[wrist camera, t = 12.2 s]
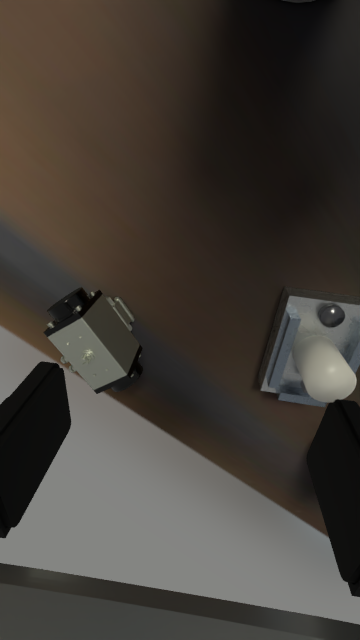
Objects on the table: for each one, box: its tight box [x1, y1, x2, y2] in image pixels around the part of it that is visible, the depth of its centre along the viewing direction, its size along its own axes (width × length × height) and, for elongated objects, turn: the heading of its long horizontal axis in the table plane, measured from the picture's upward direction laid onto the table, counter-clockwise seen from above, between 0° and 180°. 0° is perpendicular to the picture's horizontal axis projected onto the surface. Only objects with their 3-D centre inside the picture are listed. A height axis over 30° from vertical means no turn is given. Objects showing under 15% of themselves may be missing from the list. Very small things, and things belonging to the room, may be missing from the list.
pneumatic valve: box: [44, 287, 143, 394], centre depth 35 cm, size 6×12×12 cm, turn 31°
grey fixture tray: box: [258, 286, 360, 407], centre depth 37 cm, size 14×10×5 cm
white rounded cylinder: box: [293, 335, 357, 402], centre depth 34 cm, size 7×5×6 cm
